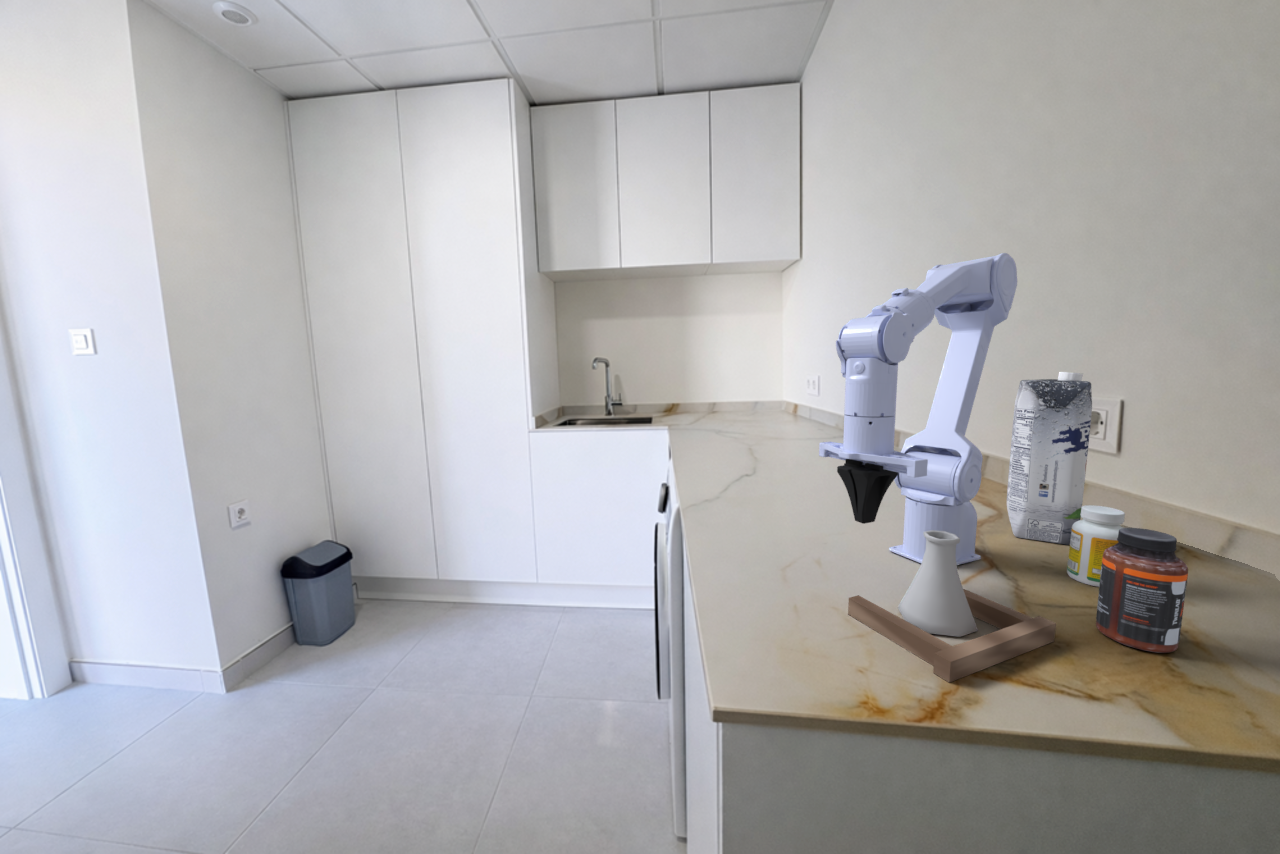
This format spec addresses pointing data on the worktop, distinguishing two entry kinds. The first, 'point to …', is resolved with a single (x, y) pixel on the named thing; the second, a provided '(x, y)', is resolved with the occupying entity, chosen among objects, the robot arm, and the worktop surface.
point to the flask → (938, 590)
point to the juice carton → (1049, 457)
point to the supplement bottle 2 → (1142, 591)
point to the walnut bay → (968, 656)
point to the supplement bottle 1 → (1092, 542)
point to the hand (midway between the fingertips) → (864, 521)
